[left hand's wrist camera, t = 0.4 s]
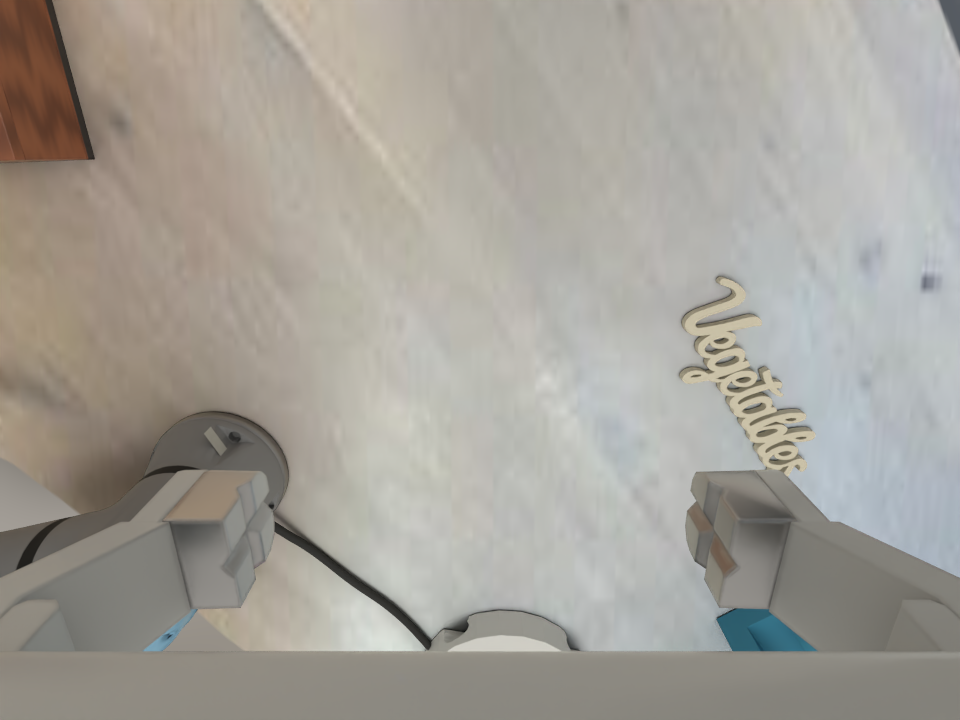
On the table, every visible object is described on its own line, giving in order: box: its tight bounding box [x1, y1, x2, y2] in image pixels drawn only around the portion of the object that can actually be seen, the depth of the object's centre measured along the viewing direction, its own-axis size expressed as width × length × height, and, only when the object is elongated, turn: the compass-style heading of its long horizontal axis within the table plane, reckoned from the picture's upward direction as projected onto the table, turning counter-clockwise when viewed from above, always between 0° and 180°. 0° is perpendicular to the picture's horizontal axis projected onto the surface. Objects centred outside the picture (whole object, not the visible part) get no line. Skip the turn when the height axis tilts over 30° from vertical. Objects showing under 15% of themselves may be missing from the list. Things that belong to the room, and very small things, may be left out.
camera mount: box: [717, 608, 817, 651], centre depth 70 cm, size 18×10×10 cm, turn 36°
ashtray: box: [426, 610, 578, 651], centre depth 75 cm, size 23×23×4 cm
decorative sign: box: [679, 277, 815, 477], centre depth 61 cm, size 26×1×10 cm
